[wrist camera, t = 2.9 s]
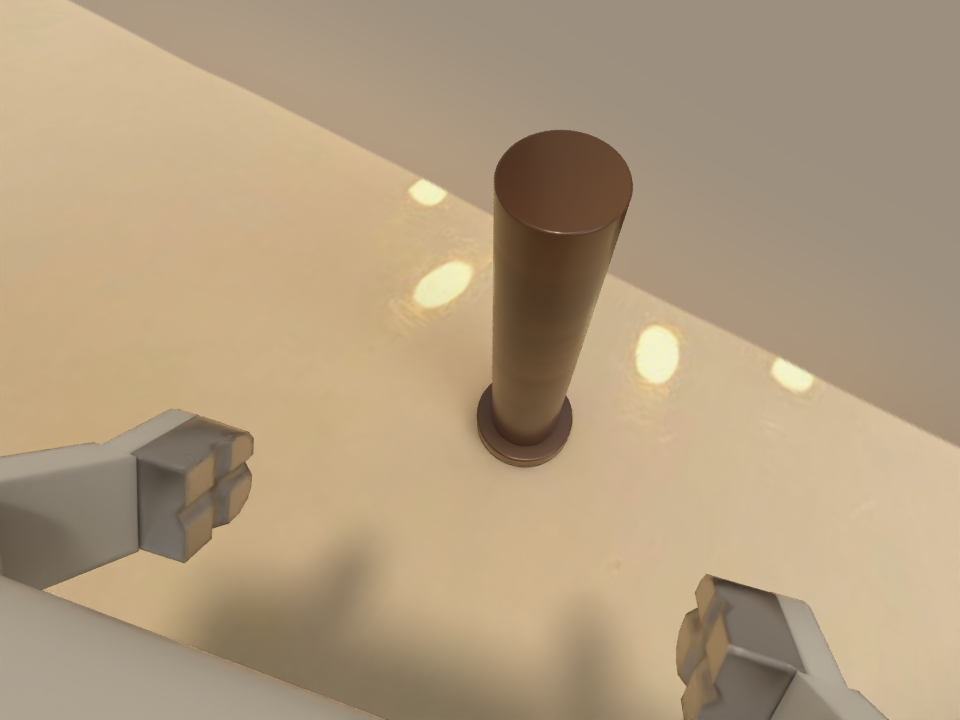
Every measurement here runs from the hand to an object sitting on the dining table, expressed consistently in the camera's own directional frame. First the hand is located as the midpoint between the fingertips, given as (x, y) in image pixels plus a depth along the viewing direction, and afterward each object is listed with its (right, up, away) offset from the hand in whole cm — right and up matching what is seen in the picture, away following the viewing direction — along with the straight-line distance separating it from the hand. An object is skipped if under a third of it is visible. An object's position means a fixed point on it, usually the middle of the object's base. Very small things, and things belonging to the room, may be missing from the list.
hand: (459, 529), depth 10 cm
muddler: (+2, 0, +17) cm, 17 cm away
